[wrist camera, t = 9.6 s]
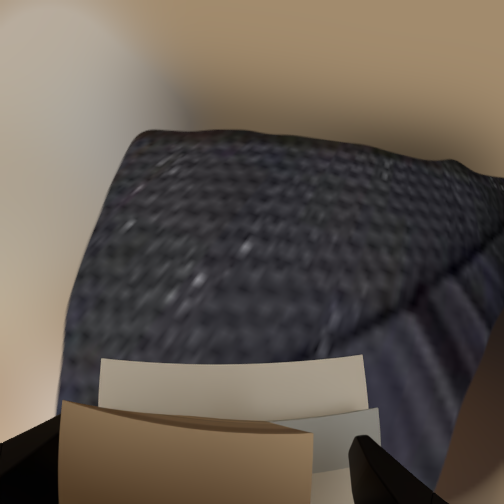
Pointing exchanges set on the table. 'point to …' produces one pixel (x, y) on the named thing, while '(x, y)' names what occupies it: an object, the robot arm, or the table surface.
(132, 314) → the table surface
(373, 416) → the ridge stand
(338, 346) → the table surface
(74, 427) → the oak post
